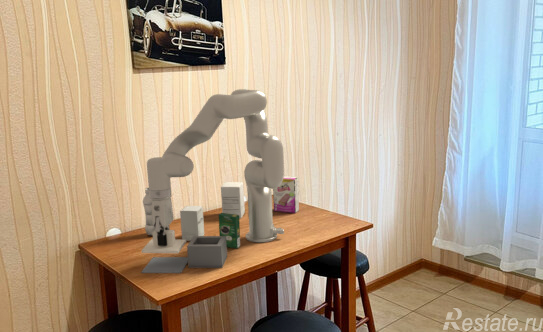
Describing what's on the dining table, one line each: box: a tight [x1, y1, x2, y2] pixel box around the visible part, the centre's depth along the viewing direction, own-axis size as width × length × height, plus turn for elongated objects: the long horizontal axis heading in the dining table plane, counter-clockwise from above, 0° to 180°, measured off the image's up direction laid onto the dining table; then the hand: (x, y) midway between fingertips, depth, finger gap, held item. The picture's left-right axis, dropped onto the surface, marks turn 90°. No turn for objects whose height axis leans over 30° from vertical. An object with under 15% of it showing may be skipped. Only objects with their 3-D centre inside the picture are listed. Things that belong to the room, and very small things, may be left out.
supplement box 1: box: [179, 205, 205, 242], centre depth 208 cm, size 7×7×13 cm
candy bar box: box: [272, 175, 300, 214], centre depth 239 cm, size 11×5×16 cm, turn 68°
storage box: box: [186, 235, 228, 269], centre depth 183 cm, size 12×10×8 cm
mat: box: [141, 256, 188, 274], centre depth 183 cm, size 14×13×1 cm
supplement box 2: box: [220, 181, 246, 219], centre depth 235 cm, size 9×9×15 cm
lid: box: [141, 229, 187, 254], centre depth 181 cm, size 13×11×6 cm
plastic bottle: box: [142, 187, 161, 236], centre depth 213 cm, size 6×7×20 cm
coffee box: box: [218, 212, 241, 250], centre depth 197 cm, size 8×3×13 cm, turn 66°
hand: (164, 243), depth 181 cm, fingers closed on lid, 3 cm apart
